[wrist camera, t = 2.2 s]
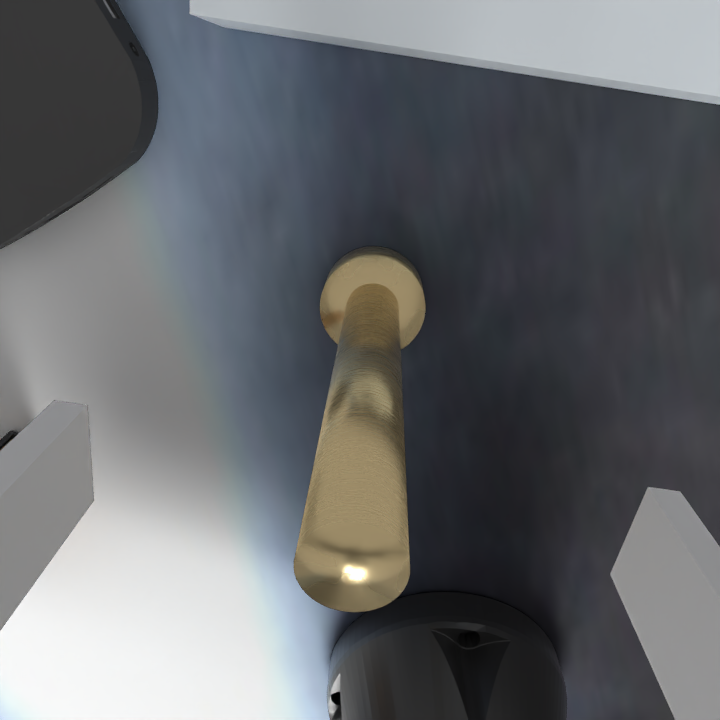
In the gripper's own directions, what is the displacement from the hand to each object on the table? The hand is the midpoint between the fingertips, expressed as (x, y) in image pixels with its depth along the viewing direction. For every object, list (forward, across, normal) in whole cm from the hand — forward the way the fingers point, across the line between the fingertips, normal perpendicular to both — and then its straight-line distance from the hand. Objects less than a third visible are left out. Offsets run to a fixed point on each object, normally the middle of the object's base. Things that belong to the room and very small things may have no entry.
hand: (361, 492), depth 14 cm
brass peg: (+16, 0, 0) cm, 16 cm away
